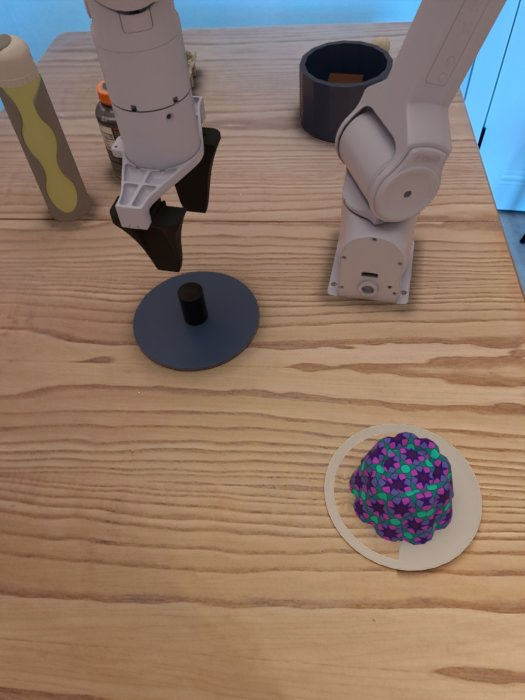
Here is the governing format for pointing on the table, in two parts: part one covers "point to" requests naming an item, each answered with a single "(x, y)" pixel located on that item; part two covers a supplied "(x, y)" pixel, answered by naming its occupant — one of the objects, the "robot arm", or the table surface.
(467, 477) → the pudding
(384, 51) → the pot
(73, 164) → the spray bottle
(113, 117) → the pill bottle
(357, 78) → the block
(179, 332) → the lid
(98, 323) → the table surface
